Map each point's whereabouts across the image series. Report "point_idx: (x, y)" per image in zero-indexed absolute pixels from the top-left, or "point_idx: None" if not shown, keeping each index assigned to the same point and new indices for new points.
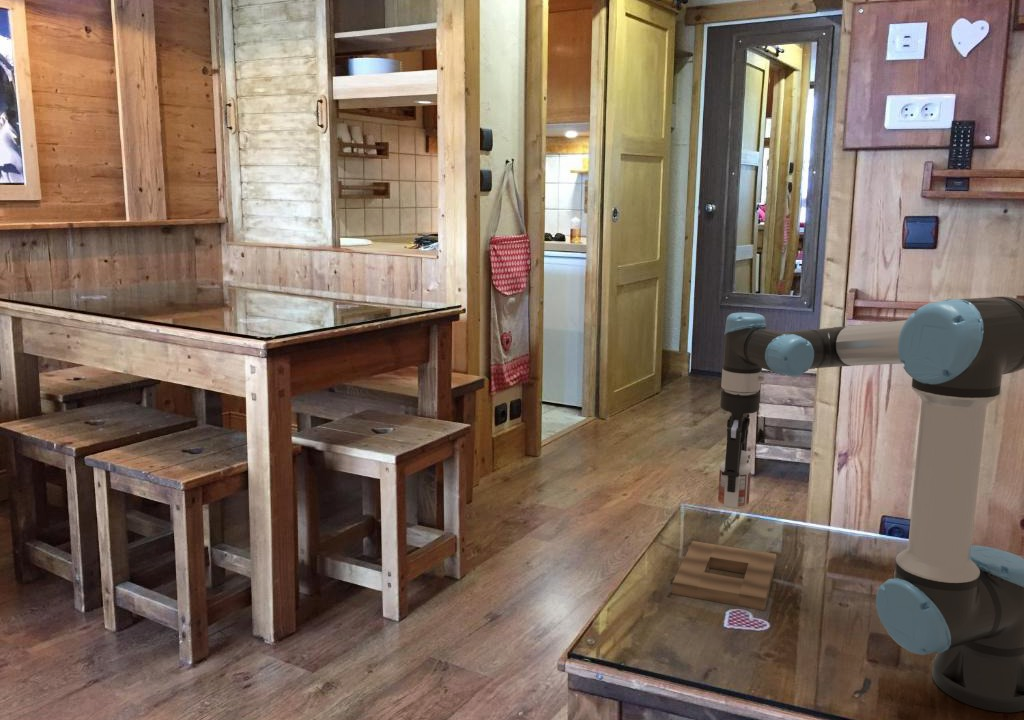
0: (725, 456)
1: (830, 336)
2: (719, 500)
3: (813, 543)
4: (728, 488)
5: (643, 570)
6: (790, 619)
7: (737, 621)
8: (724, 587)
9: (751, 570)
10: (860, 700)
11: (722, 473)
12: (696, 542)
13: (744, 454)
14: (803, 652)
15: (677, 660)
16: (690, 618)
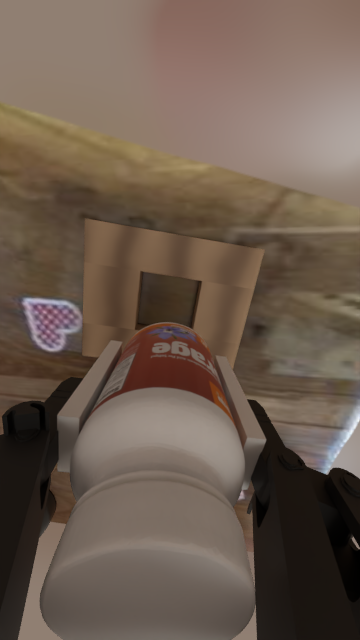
0: (104, 511)
1: None
2: (145, 329)
3: (301, 410)
4: (57, 390)
5: (165, 163)
6: (77, 373)
7: (45, 315)
8: (95, 302)
9: None
10: None
11: (7, 413)
12: (258, 256)
13: None
14: (3, 381)
15: None
16: (25, 252)
